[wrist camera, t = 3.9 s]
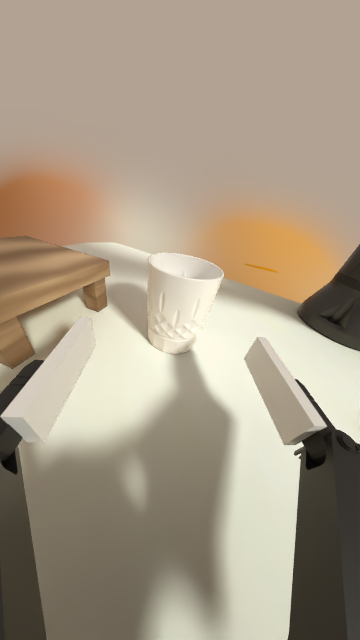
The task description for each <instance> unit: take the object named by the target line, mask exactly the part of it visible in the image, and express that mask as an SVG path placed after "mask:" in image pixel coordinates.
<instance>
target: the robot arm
mask: <svg viewBox="0 0 360 640" xmlns="http://www.w3.org/2000/svg"><path fill="white" fill-rule="evenodd" d="M298 314H299V316H300V317H301V318H302V319H303V320H304V321H305V322H306V323H307V324H308V325H310V326H311V327H312V328H314V329H315V330H317V331H318V332H320V333H322V334H323V335H325V336H327V337H329V338H331V339H333V340H335V341H337V342H339V343H341V344H343V345H346V346H348V347H351V348H354V349H357V350H360V244H359V246H358V247H357V248H356V250H355V251H354V252H353V253H352V255H351V256H350V257H349V258H348V260H347V261H346V262H345V264H344V265H343V266H342V267H341V269H340V270H339V272H338V273H337V274H336V275H335V276H334V278H333V279H332V280H331V281H330V282H329V283H328V284H327V285H325V286H324V287H323V288H321V289H320V290H319V291H317V292H316V293H315V294H313V295H312V296H310V297H309V298H308V299H306V300H305V301H304V302H303V303H302V305H301V306H300V307H299V309H298ZM95 346H96V342H95V336H94V330H93V325H92V319H91V318H87V317H79V319H78V320H77V321H76V322H75V324H74V325H73V326H72V327H71V329H70V330H69V331H68V332H67V334H66V335H65V336H64V337H63V338H62V340H61V341H60V342H59V343H58V345H57V346H56V347H55V348H54V350H53V351H52V352H51V353H50V355H49V356H48V357H47V358H46V360H45V361H43V360H34V361H33V362H31V363H30V364H28V365H27V366H25V367H24V368H23V369H22V370H21V371H20V372H19V374H18V375H17V376H16V378H14V379H13V380H12V381H11V382H10V384H9V386H7V387H6V388H5V389H4V390H3V391H2V393H1V394H0V640H47V639H46V632H45V625H44V619H43V612H42V605H41V598H40V591H39V585H38V578H37V571H36V564H35V557H34V551H33V544H32V537H31V530H30V523H29V517H28V510H27V503H26V496H25V490H24V483H23V476H22V469H21V462H20V456H19V449H18V447H17V446H18V444H19V442H20V441H21V439H22V438H23V439H24V440H25V441H26V442H35V443H44V442H45V440H46V439H47V437H48V435H49V433H50V431H51V429H52V427H53V425H54V423H55V422H56V420H57V418H58V416H59V414H60V412H61V410H62V408H63V406H64V405H65V403H66V401H67V399H68V397H69V395H70V393H71V391H72V389H73V388H74V386H75V384H76V382H77V380H78V378H79V376H80V374H81V372H82V371H83V369H84V367H85V365H86V363H87V361H88V359H89V357H90V355H91V354H92V352H93V350H94V348H95ZM244 360H245V362H246V364H247V366H248V369H249V371H250V373H251V375H252V377H253V379H254V381H255V384H256V386H257V388H258V390H259V392H260V394H261V396H262V399H263V401H264V403H265V405H266V407H267V409H268V411H269V414H270V416H271V418H272V420H273V422H274V424H275V426H276V429H277V431H278V433H279V435H280V437H281V439H282V441H283V444H284V445H296V444H298V443H300V442H301V441H302V443H303V444H304V447H302V448H300V449H298V450H296V451H295V452H294V455H298V454H300V453H301V456H300V457H299V459H301V465H300V479H299V494H298V509H297V524H296V539H295V553H294V568H293V583H292V598H291V612H290V627H289V636H288V640H360V444H357V443H356V442H355V441H354V440H353V439H352V438H351V437H350V436H348V435H347V434H346V433H344V432H342V431H340V430H336V429H335V427H334V426H333V425H332V423H331V422H330V421H329V419H328V418H327V417H326V415H325V414H324V412H323V411H322V410H321V408H320V407H319V406H318V404H317V403H316V402H315V401H314V399H313V397H312V396H311V395H310V393H309V392H308V390H307V389H306V388H305V386H304V385H303V384H302V383H300V382H299V381H298V380H297V379H294V378H293V376H292V375H291V373H290V372H289V371H288V369H287V368H286V366H285V365H284V363H283V362H282V361H281V359H280V358H279V356H278V355H277V353H276V352H275V351H274V349H273V348H272V346H271V345H270V343H269V342H268V341H267V339H266V338H263V337H257V338H256V340H255V341H254V343H253V345H252V346H251V348H250V349H249V351H248V353H247V354H246V356H245V358H244Z"/></svg>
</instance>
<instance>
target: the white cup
mask: <svg viewBox="0 0 360 640" xmlns="http://www.w3.org/2000/svg"><path fill="white" fill-rule="evenodd" d="M223 277H224V272H223V271H222V269H221V268H219V267H218V266H216V265H215V264H213V263H211V262H209V261H206V260H203V259H200V258H197V257H193V256H189V255H185V254H178V253H156V254H153V255H151V256H149V257H148V280H147V319H148V339H149V340H150V342H151V343H152V345H153V346H154V347H156V348H157V349H159V350H161V351H162V352H167V353H172V354H178V353H184V352H187V351H189V350H190V349H191V348H193V347H194V345H195V342H196V340H197V337H198V335H199V333H200V331H201V330H202V328H203V325H204V323H205V321H206V318H207V316H208V314H209V312H210V309H211V307H212V304H213V302H214V299H215V297H216V294H217V292H218V289H219V287H220V284H221V282H222V279H223Z"/></svg>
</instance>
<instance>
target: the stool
mask: <svg viewBox="0 0 360 640" xmlns="http://www.w3.org/2000/svg"><path fill="white" fill-rule="evenodd" d="M109 275H110V271H109V261H107V260H104V259H101V258H97V257H94V256H91V255H87V254H84V253H81V252H77V251H74V250H71V249H68V248H64V247H61V246H58V245H54V244H51V243H48V242H44V241H41V240H38V239H34V238H31V237H28V236H18V237H6V238H0V363H2V364H4V365H6V366H8V367H10V368H12V369H13V368H14V367H16V366H17V365H19V364H20V363H22V362H23V361H25V360H26V359H28V358H29V357H31V356H32V355H34V354H35V352H34V350H33V348H32V346H31V344H30V343H29V341H28V339H27V337H26V335H25V333H24V331H23V329H22V327H21V325H20V323H19V321H18V319H17V317H16V316H18V315H21V314H23V313H25V312H27V311H30V310H32V309H34V308H37V307H39V306H41V305H43V304H46V303H48V302H50V301H52V300H55V299H57V298H59V297H62V296H64V295H66V294H68V293H71V292H73V291H75V290H77V289H80V288H82V287H83V291H84V296H85V301H86V307H87V308H89V309H92V310H94V311H97V312H99V311H100V310H102V309H103V308H105V307H106V306H107V297H106V287H105V277H107V276H109Z"/></svg>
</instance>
